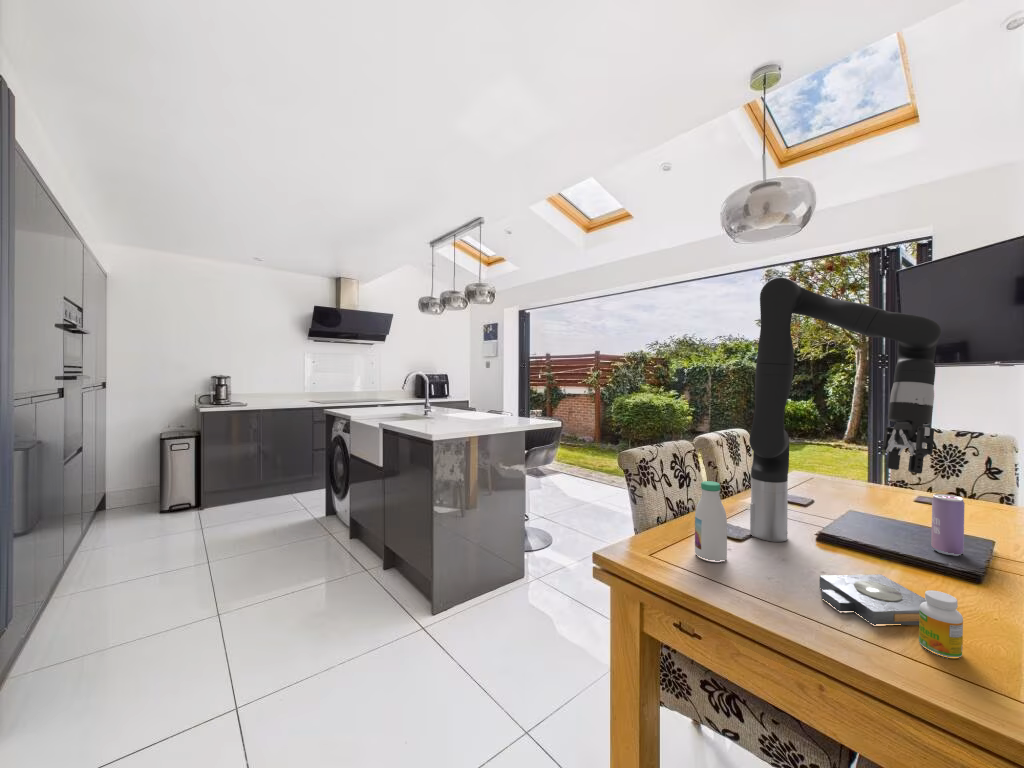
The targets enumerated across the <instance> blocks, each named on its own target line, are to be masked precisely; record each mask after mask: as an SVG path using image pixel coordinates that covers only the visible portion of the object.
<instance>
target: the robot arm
mask: <svg viewBox="0 0 1024 768" xmlns="http://www.w3.org/2000/svg"><path fill="white" fill-rule="evenodd" d="M759 307H760V308H759V309H760V310H759V311H760V332H759V338H758V347H757V356H756V362H755V363H756V365H755V377H754V380H755V382H754V403H755V404H754V412H753V419H752V424H751V429H750V433H749V439H748V441H749V446H750V448H751V450H752V451H753V453H752V454H753V458H752V465H751V470H750V477H751V478H750V486H751V487H750V491H751V493H750V494H751V495H750V501H751V502H750V505H749V508H750V509H749V510H750V511H749V514H750V516H749V519H750V521H749V529H750V530H749V531H750V532H749V533H750V534H751V535H752V536H751V537H754V538H757V539H760V540H763V541H765V542H775V543H781V542H786V541H787V540H788V515H789V514H788V512H789V511H788V508H789V507H788V506H789V505H788V501H789V500H788V498H789V496H788V486H789V485H788V482H789V481H788V479H789V468H790V437H789V433H788V432H787V431H786V430H785V411H786V407H787V406H786V405H787V402H788V399H789V397H790V392H791V388H792V383H793V378H794V367H795V366H794V365H795V353H794V352H795V351H794V346H793V345H794V344H793V340H792V334H791V333H792V332H791V325H792V317H793V315H800V316H805V317H809V318H813V319H817V320H820V321H822V322H826V323H829V324H831V325H833V326H836V327H839V328H842V329H844V330H848V331H851V332H854V333H857V334H859V335H863V336H867V337H871V338H875V339H876V338H886V339H889V340H893V341H896V342H897V353H896V354H897V357H896V358H897V360H896V361H897V363H896V365H895V368H894V369H895V370H894V375H893V384H892V388H891V391H890V398H889V399H890V400H889V407H888V415H887V419H888V421H890V422H894V426H893V427H891V426H885V428H884V435H883V441H882V450H883V451H885V452H886V453H887V457H886V458H887V460H886V468H887V469H889V470H896V471H898V470H899V469H900V462H901V454H902V452H903V450H905V449H907V448H908V451H909V454H910V455H909V459H908V472H909V473H914V474H922V473H923V466H924V458H926V457H928V455H929V456H930V455H933V453H934V450H933V449H934V439H935V437H934V436H935V435H934V434H935V428H933V427H928V426H929V425H931V424H932V419H933V412H934V411H933V410H934V403H935V378H936V364H935V356H936V351H937V344H938V341H939V340H940V337H941V336H942V328H941V326H940V324H938V322H936V321H935V320H933V319H930V318H927V317H924V316H921V315H915V314H909V313H903V312H894V311H893V312H892V311H888V310H886V309H885V310H884V309H882V308H878V307H875V306H871V305H869V304H868V305H867V304H863V303H858V302H856V301H855V302H854V301H849V300H844V299H838V298H834V297H829V296H824V295H821V294H819V293H816V292H813V291H811V290H808V289H807V288H805V287H802V286H800V285H799V284H798V283H796V282H795V281H793V280H792V279H789V278H786V277H782V276H780V277H774V278H772V279H769V281H767V282H766V283H765V284H764V285H763V287H762V288H761V291H760V294H759ZM926 426H927V427H926Z"/></svg>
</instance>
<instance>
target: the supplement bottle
mask: <svg viewBox="0 0 1024 768" xmlns="http://www.w3.org/2000/svg"><path fill="white" fill-rule="evenodd" d="M924 598H925V600H926V602H923V603H921V604H920V608H919V626H918V627H919V628H918V642H920V643H919V645H920V644H921V645H922V646H924V647H926V648H927V649H929V650H931V651H933V652H935V653H937V654H940V655H943V656H947V657H961V656H962V657H963V643H964V642H963V641H964V640H963V637H964V633H963V632H964V617H963V615H962V614H961V612H960V611H958V607H959V606H958V599H957V598H956V597H955V596H953V595H951V594H948V593H946V592H943V591H939V590H932V589H931V590H926V591H925V593H924ZM921 645H920V646H921ZM922 646H921V647H922ZM962 657H961V658H962Z"/></svg>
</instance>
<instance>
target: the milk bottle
mask: <svg viewBox="0 0 1024 768" xmlns="http://www.w3.org/2000/svg"><path fill="white" fill-rule="evenodd" d="M700 491H701V496H700V499H699V501H698V503H697V505H696V507H695V514H694V552H695V553H696V554H697V555H698V556H700V557H702V558H705V559H708V560H715V561H720V560H725V559H726V560H727V558H728V524H727V523H728V520H727V519H728V518H727V511H726V509H725V507H724V504H723V503H722V500H721V497H720V493H721V484H720V483H719V482H717V481H712V480H711V481H710V480H705V481H704V480H703V481H701V483H700ZM695 553H694V554H695ZM696 554H695V555H696Z"/></svg>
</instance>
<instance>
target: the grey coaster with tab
mask: <svg viewBox="0 0 1024 768" xmlns="http://www.w3.org/2000/svg"><path fill="white" fill-rule="evenodd" d="M820 588H821V589H823V590H821V589H820ZM819 589H820V590H821V600H822V599H824V600H825V601H827V602H828V603H830V604H831V605H832V606H833V607H835V608H836V609H837V610H839V611H854V612H856V613H857V614H859V615H860V616H862V617H863V618H864V619H866V620H867V621H869V622H870V623H872V624H874V625H876V624H901V625H919V608H920V604H921V603H923V602H926V600H925V597H923V596H921V595H919V594H917V593H916V592H914V591H912V590H910V589H908V588H906V587H905V586H903V585H901V584H899V583H897V582H896V581H894V580H892V579H890V578H888V577H887V576H886V575H883V574H880V573H879V574H875V573H874V574H848V575H847V574H845V575H844V574H840V575H839V574H837V575H835V574H834V575H819Z"/></svg>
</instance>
